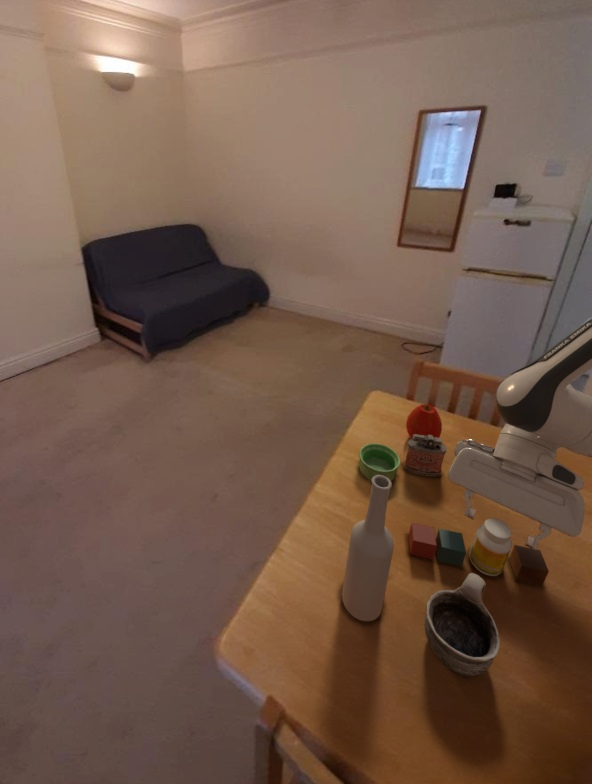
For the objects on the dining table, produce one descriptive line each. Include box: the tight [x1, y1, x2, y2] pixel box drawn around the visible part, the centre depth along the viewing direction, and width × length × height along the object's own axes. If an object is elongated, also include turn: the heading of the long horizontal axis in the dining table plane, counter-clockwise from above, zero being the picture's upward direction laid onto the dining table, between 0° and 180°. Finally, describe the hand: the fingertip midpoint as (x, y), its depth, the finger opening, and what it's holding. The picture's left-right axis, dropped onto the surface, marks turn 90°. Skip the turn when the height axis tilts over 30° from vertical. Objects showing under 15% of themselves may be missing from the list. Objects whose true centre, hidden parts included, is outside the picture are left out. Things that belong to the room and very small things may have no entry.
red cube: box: [408, 522, 437, 560], centre depth 77 cm, size 4×4×4 cm
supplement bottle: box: [468, 517, 513, 577], centre depth 72 cm, size 5×5×10 cm
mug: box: [424, 572, 501, 677], centre depth 62 cm, size 10×12×10 cm
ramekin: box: [358, 442, 401, 482], centre depth 94 cm, size 9×9×4 cm
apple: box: [405, 403, 443, 440], centre depth 102 cm, size 8×8×11 cm
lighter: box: [403, 434, 448, 477], centre depth 93 cm, size 8×3×10 cm, turn 74°
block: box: [435, 528, 467, 567], centre depth 75 cm, size 4×4×4 cm
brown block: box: [508, 544, 550, 587], centre depth 72 cm, size 4×4×4 cm
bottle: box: [341, 475, 395, 622], centre depth 63 cm, size 7×7×28 cm
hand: (498, 532), depth 72 cm, fingers open, 8 cm apart
